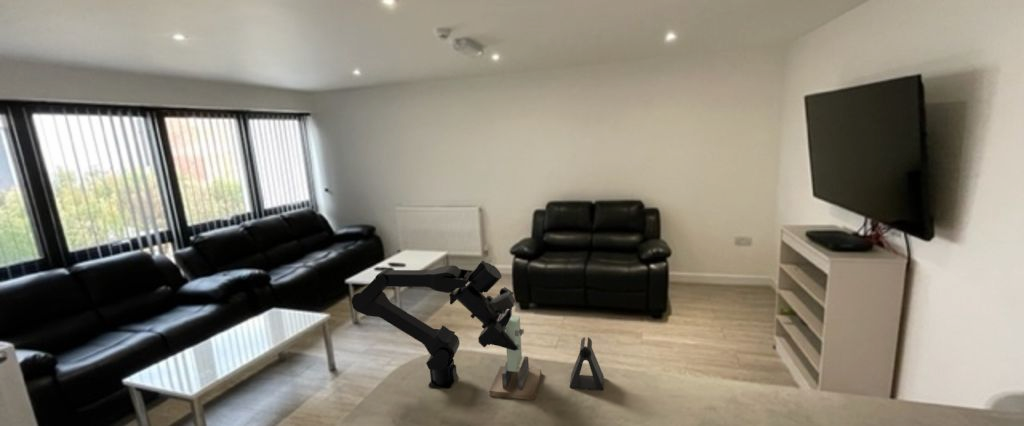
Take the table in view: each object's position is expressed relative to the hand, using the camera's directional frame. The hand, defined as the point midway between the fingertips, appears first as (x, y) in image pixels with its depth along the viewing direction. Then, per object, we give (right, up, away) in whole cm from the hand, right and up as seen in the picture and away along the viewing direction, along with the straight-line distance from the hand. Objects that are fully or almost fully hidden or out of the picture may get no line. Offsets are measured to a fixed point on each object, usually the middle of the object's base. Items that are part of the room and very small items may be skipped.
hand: (518, 342), depth 115 cm
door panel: (-1, -6, +2) cm, 7 cm away
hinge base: (-1, -13, +3) cm, 13 cm away
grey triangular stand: (+19, -12, +2) cm, 22 cm away
